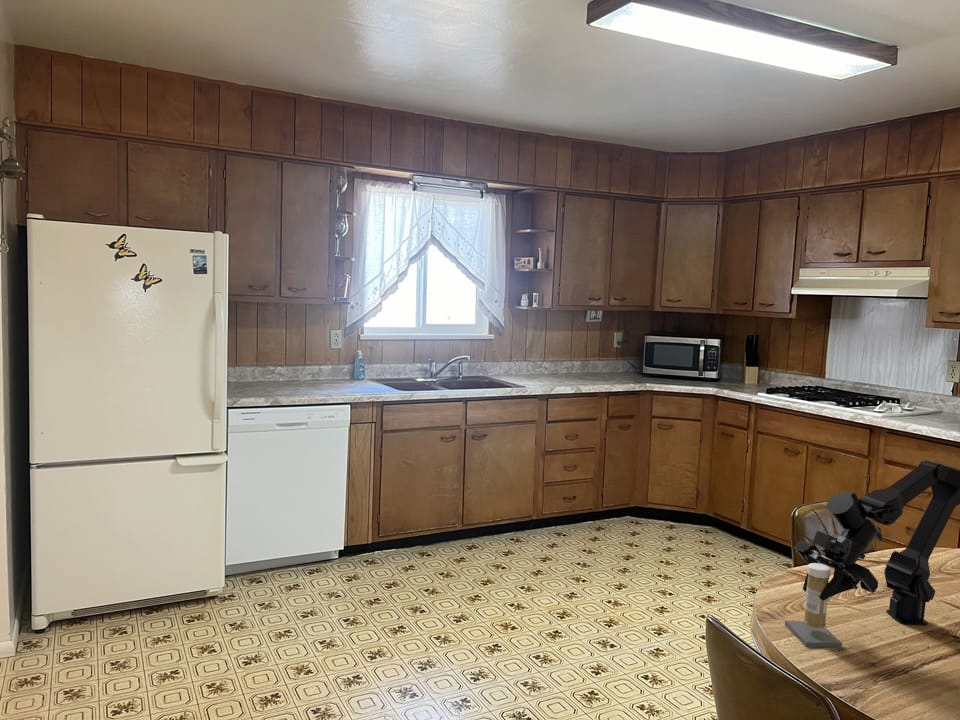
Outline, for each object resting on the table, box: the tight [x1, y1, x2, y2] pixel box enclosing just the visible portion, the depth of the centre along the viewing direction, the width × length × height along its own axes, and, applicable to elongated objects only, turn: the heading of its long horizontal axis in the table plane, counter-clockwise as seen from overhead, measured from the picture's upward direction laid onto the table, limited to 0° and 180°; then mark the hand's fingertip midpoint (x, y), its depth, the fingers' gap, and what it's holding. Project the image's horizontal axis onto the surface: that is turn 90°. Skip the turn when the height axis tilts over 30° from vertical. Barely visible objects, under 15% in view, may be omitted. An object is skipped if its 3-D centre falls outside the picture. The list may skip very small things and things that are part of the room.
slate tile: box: [784, 620, 843, 648], centre depth 160 cm, size 8×10×1 cm
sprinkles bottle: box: [803, 563, 831, 628], centre depth 159 cm, size 5×5×13 cm
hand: (812, 594), depth 159 cm, fingers closed on sprinkles bottle, 4 cm apart
